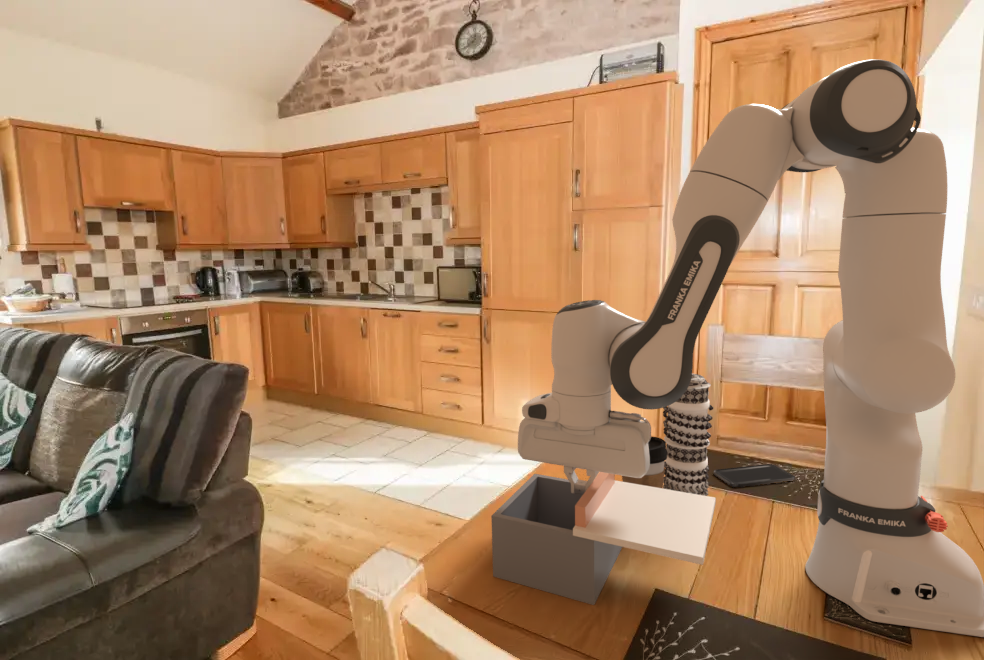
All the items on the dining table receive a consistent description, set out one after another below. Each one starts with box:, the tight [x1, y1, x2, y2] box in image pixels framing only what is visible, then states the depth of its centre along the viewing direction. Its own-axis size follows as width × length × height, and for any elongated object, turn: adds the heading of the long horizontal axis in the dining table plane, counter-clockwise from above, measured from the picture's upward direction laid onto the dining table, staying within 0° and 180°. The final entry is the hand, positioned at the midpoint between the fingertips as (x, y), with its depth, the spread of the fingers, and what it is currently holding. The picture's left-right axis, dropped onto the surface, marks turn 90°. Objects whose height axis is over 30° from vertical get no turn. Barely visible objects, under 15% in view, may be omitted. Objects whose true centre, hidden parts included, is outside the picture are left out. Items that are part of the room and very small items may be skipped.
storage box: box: [491, 473, 623, 606], centre depth 85 cm, size 16×17×10 cm
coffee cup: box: [621, 436, 667, 489], centre depth 97 cm, size 8×8×15 cm
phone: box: [713, 464, 796, 488], centre depth 115 cm, size 8×1×15 cm
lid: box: [573, 472, 717, 566], centre depth 78 cm, size 17×18×4 cm
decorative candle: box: [662, 373, 714, 496], centre depth 104 cm, size 9×9×25 cm
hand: (581, 493), depth 83 cm, fingers closed
